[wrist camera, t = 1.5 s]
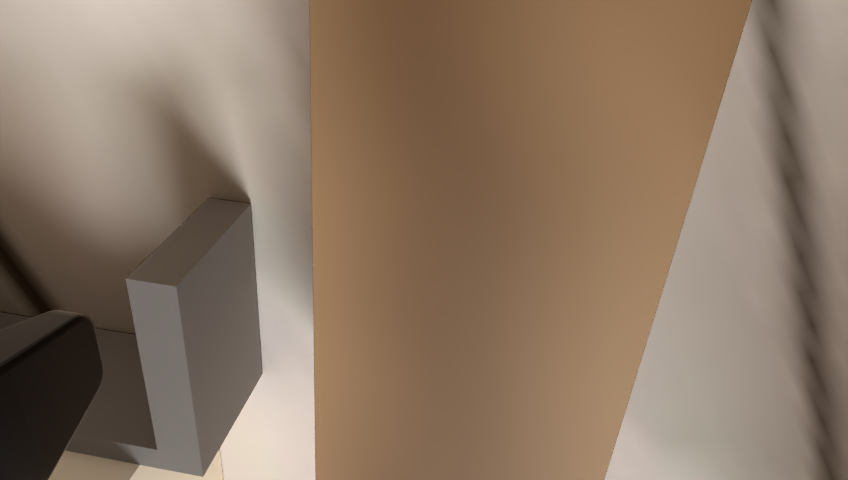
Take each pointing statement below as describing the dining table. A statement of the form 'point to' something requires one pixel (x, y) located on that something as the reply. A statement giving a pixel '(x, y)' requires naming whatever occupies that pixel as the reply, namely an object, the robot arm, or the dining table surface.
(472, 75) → the brown wooden block
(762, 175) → the dining table surface
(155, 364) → the post bracket
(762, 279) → the dining table surface
